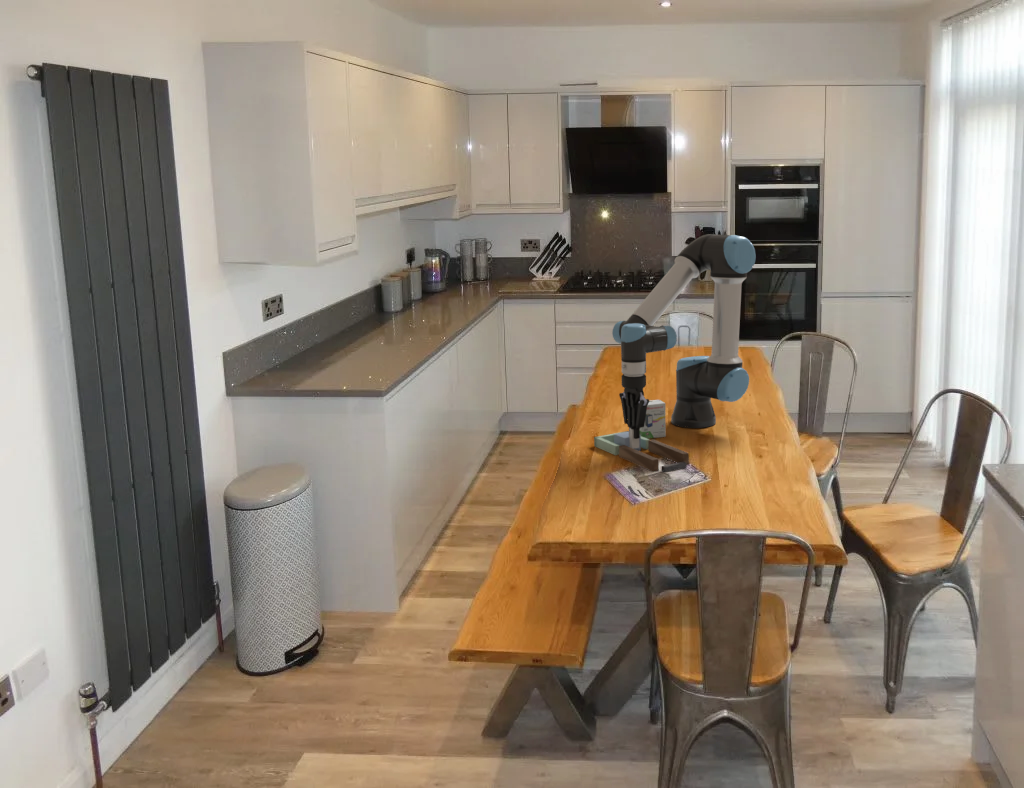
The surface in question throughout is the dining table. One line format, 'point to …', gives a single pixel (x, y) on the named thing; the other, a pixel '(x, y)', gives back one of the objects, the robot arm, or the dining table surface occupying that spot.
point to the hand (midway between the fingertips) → (634, 447)
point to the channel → (655, 448)
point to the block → (625, 440)
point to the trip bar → (674, 466)
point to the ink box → (654, 420)
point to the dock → (608, 443)
